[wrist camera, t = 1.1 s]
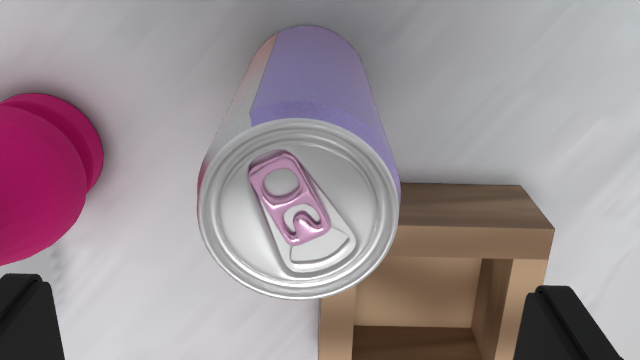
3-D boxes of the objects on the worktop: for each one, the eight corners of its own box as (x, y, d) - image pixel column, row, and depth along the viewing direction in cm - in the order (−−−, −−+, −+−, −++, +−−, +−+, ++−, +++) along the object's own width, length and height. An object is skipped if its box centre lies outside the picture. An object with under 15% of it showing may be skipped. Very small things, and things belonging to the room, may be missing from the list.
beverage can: (334, 1, 28) (351, 74, 14) (383, 108, 30) (438, 260, 16) (227, 55, 29) (147, 172, 15) (282, 154, 31) (254, 335, 17)
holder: (323, 180, 32) (324, 223, 27) (520, 185, 32) (555, 228, 27) (317, 340, 36) (317, 400, 32) (491, 343, 36) (516, 404, 32)
